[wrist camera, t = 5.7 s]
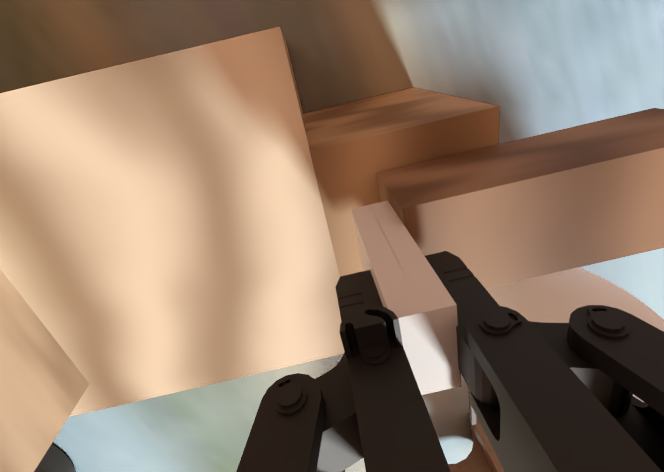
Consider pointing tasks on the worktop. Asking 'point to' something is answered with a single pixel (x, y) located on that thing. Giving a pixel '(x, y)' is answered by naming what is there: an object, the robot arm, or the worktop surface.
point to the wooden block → (539, 199)
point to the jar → (568, 297)
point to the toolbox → (385, 149)
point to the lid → (156, 236)
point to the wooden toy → (479, 454)
